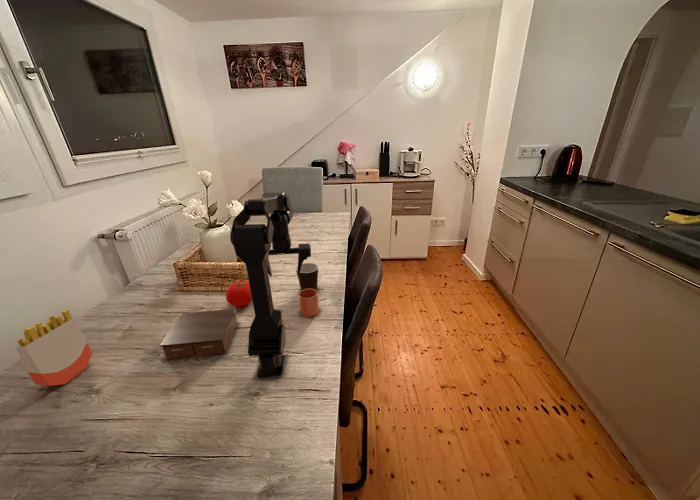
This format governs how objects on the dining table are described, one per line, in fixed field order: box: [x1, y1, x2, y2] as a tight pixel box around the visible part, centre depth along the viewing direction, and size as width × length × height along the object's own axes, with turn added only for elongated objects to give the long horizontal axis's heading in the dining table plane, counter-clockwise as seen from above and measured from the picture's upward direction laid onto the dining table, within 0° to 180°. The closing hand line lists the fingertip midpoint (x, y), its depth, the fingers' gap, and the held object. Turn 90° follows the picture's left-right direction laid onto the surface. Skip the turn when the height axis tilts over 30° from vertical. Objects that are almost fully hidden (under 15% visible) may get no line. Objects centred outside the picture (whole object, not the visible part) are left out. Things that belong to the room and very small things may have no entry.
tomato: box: [225, 281, 252, 308], centre depth 103 cm, size 9×10×8 cm
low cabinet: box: [159, 308, 238, 360], centre depth 85 cm, size 15×17×6 cm
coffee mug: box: [295, 262, 319, 292], centre depth 111 cm, size 12×9×10 cm
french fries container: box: [16, 309, 93, 387], centre depth 72 cm, size 5×11×18 cm, turn 171°
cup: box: [298, 288, 320, 318], centre depth 97 cm, size 6×6×8 cm
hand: (285, 274), depth 95 cm, fingers open, 9 cm apart
